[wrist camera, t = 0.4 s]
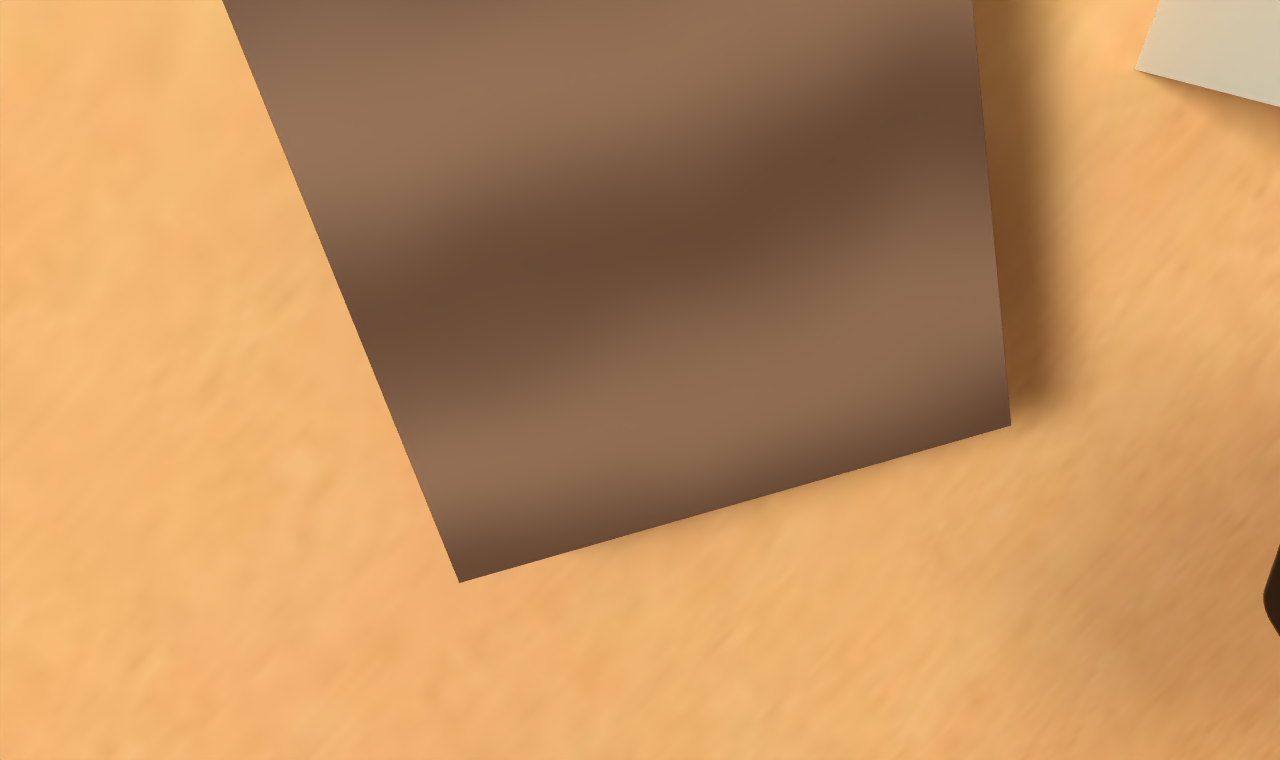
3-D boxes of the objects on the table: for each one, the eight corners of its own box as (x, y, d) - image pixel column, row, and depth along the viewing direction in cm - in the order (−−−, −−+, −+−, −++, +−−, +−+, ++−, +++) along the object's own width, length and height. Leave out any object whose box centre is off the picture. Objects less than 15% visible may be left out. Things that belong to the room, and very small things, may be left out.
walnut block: (943, 358, 24) (1011, 425, 21) (463, 494, 24) (459, 582, 21) (876, -198, 19) (951, -219, 16) (261, -29, 19) (215, -16, 16)
